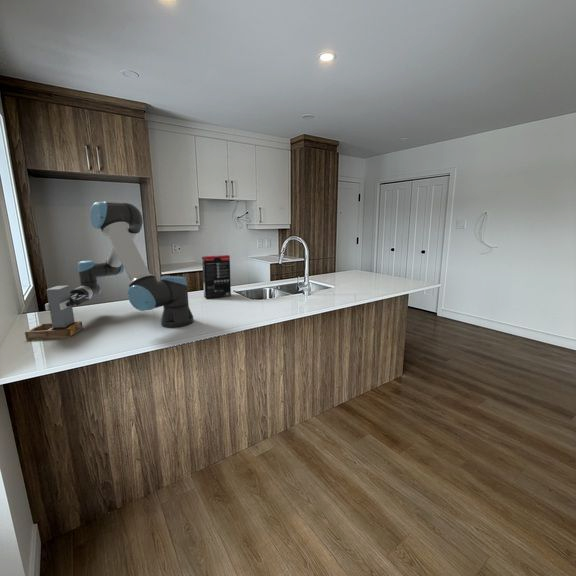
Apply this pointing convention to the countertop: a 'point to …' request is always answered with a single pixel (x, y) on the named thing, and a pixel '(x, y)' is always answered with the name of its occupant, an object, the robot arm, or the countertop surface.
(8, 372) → the countertop surface
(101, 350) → the countertop surface
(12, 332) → the countertop surface
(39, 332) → the divided wooden tray
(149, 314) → the countertop surface
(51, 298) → the block
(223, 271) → the graphics card box
